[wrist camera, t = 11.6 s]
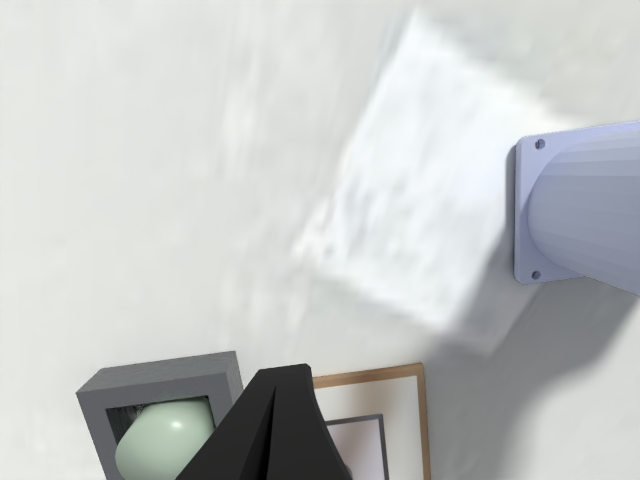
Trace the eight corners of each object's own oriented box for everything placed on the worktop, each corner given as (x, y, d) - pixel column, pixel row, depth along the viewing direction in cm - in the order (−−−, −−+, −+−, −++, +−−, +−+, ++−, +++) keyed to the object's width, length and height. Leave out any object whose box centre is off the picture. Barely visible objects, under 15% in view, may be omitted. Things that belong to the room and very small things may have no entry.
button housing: (235, 350, 18) (225, 372, 16) (258, 459, 20) (252, 491, 18) (101, 368, 18) (75, 392, 16) (136, 476, 20) (117, 509, 18)
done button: (210, 383, 18) (194, 418, 15) (226, 446, 19) (212, 489, 16) (133, 393, 18) (104, 430, 15) (153, 456, 19) (128, 500, 16)
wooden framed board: (421, 363, 18) (424, 369, 18) (429, 491, 21) (433, 500, 20) (275, 382, 18) (274, 389, 18) (299, 508, 21) (298, 518, 20)
